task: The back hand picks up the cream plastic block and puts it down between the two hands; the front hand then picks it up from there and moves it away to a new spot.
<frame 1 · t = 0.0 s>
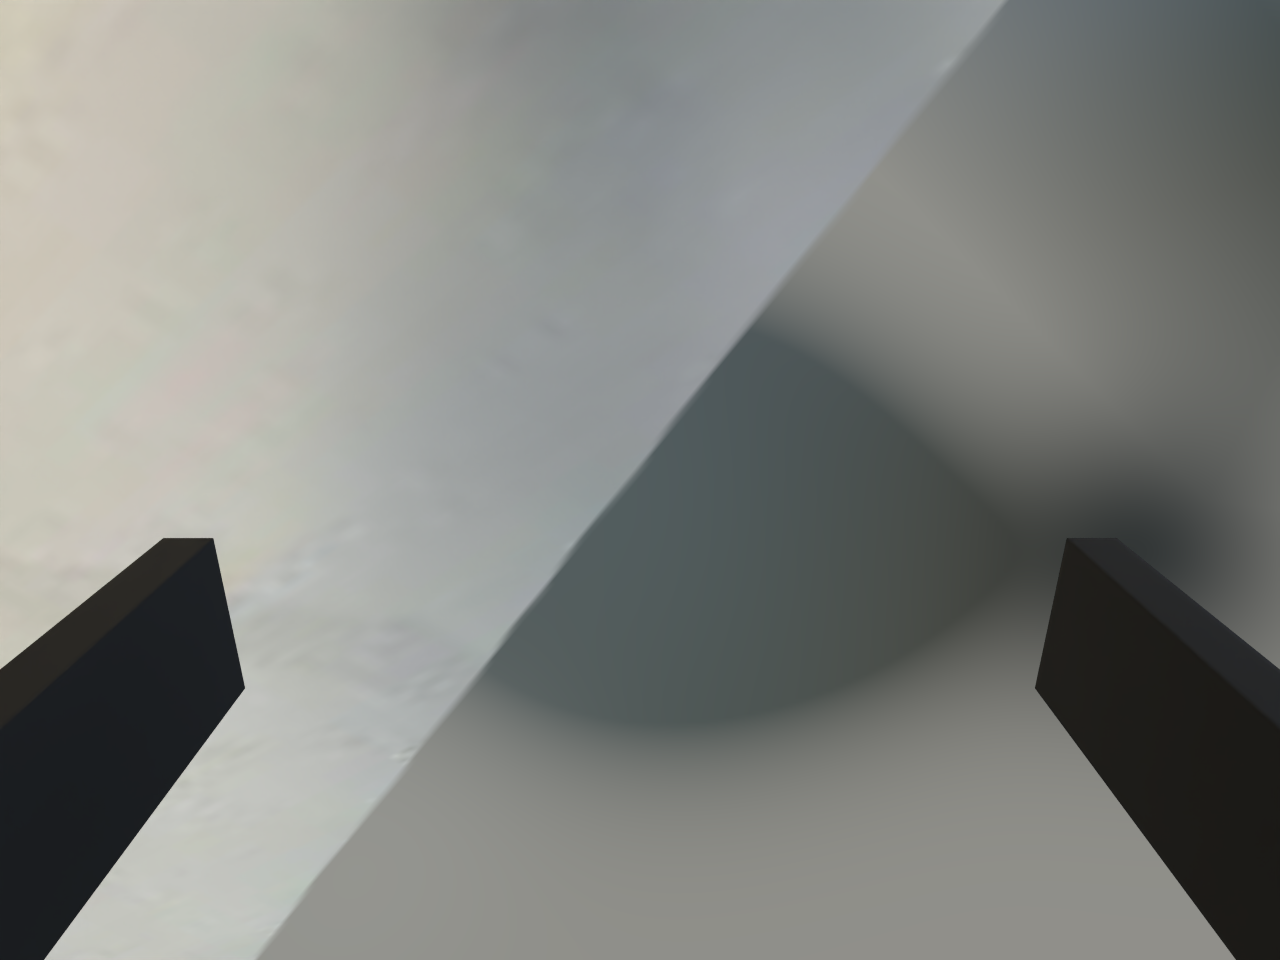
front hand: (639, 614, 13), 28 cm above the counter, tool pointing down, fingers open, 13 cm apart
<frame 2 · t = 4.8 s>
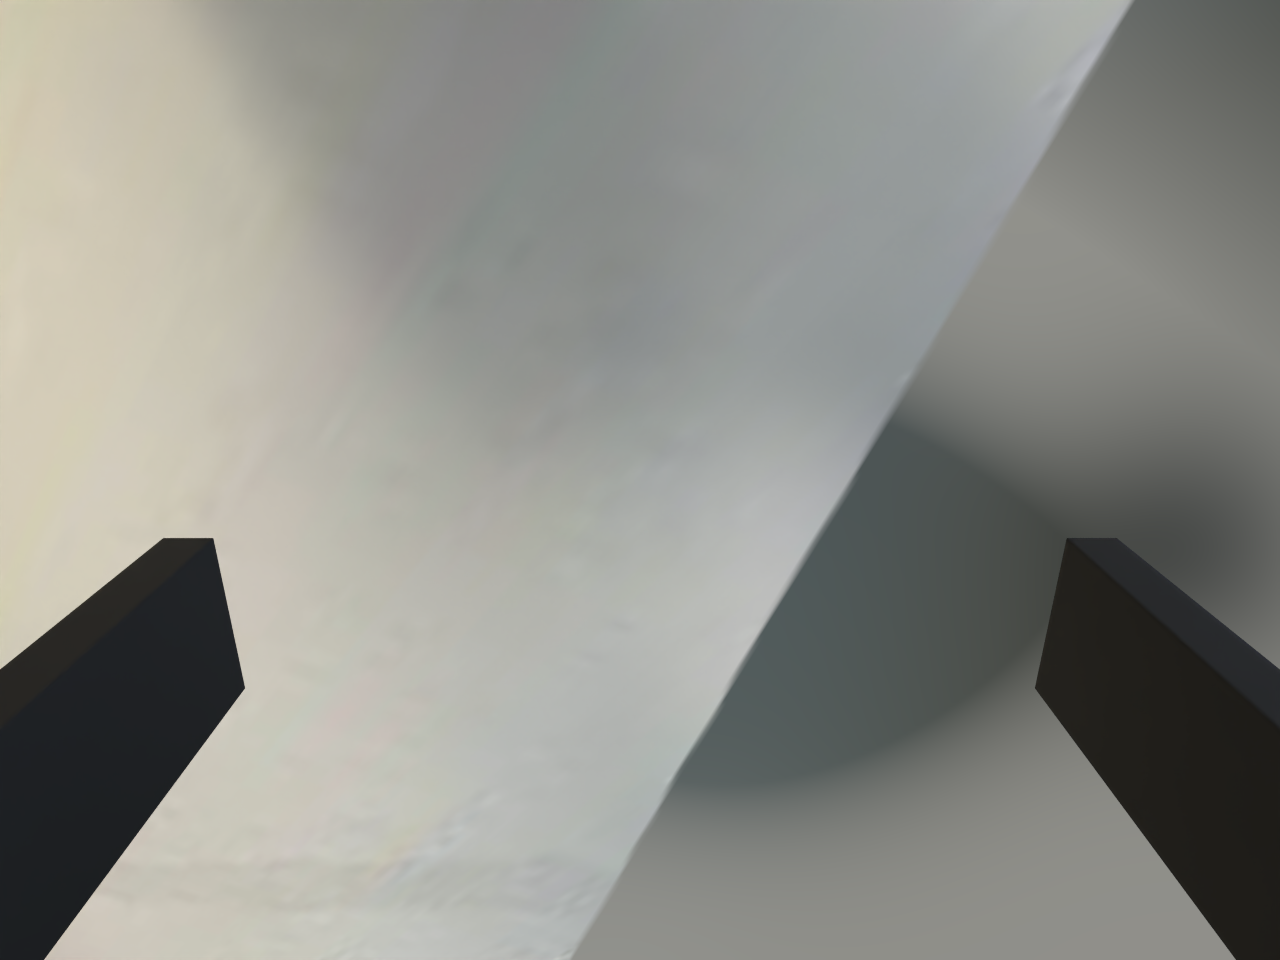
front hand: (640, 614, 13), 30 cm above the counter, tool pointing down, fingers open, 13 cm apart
when the back hand's fingers open (3 cm above the counter, at t = 13.8 s): block drops 1 cm, on the counter.
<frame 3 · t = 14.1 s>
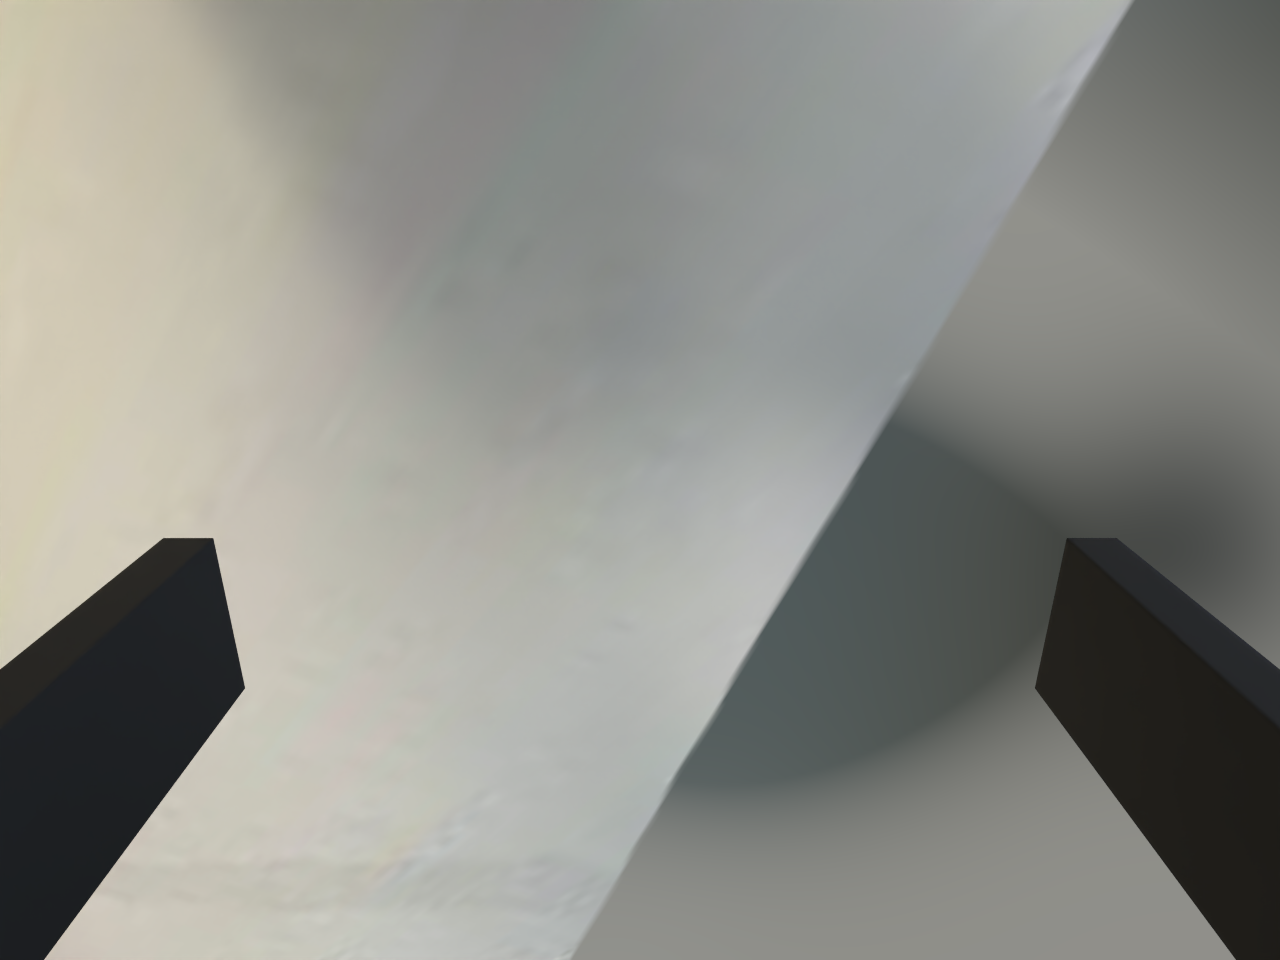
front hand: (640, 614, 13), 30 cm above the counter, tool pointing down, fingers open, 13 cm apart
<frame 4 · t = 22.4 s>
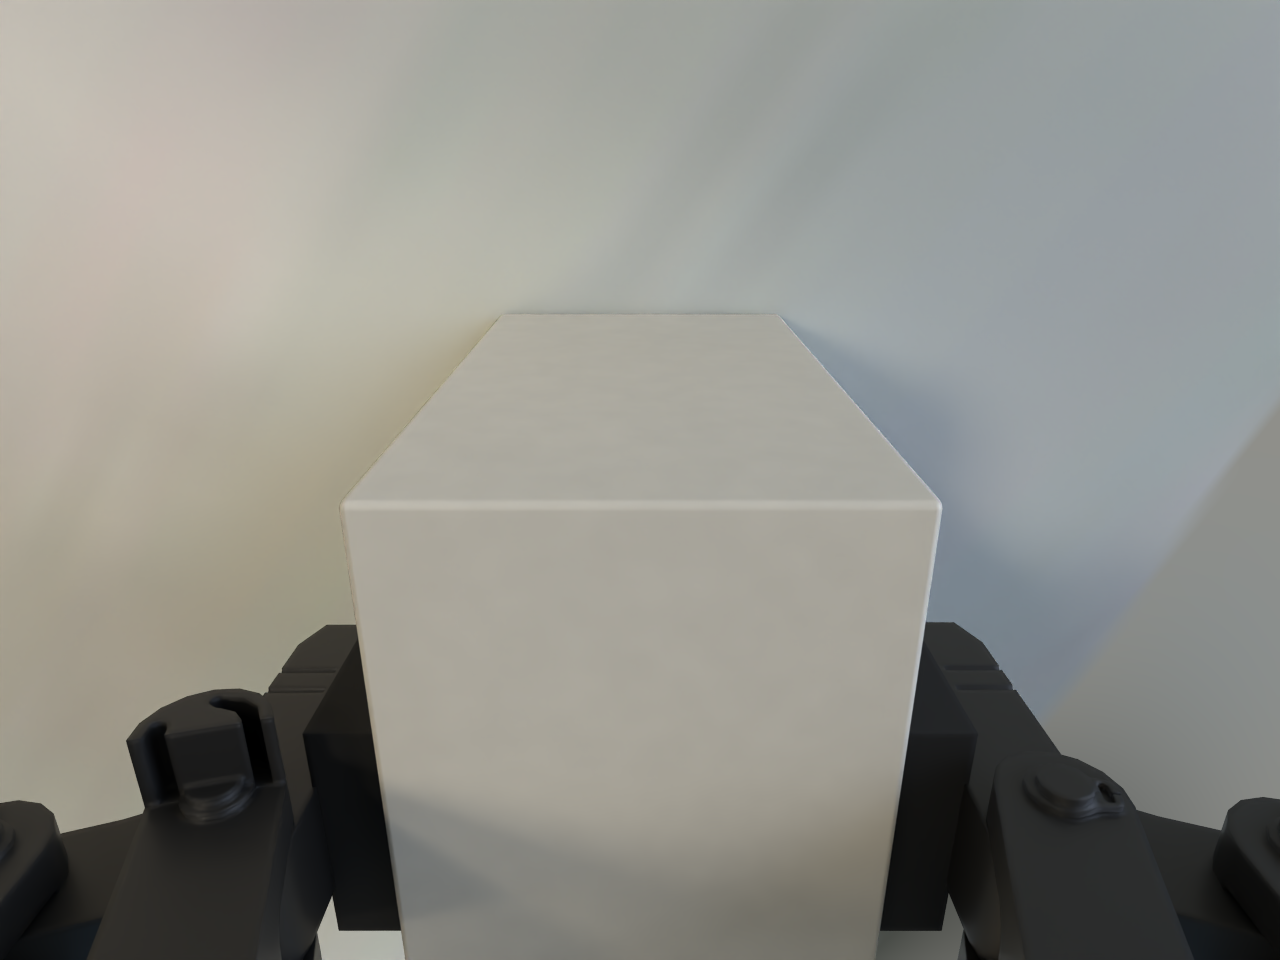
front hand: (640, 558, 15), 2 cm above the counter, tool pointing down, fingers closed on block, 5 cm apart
block: (639, 502, 17), on the counter, touching front hand
when the front hand's fingers open (3 cm above the counter, at t = 34.0 s): block drops 1 cm, on the counter.
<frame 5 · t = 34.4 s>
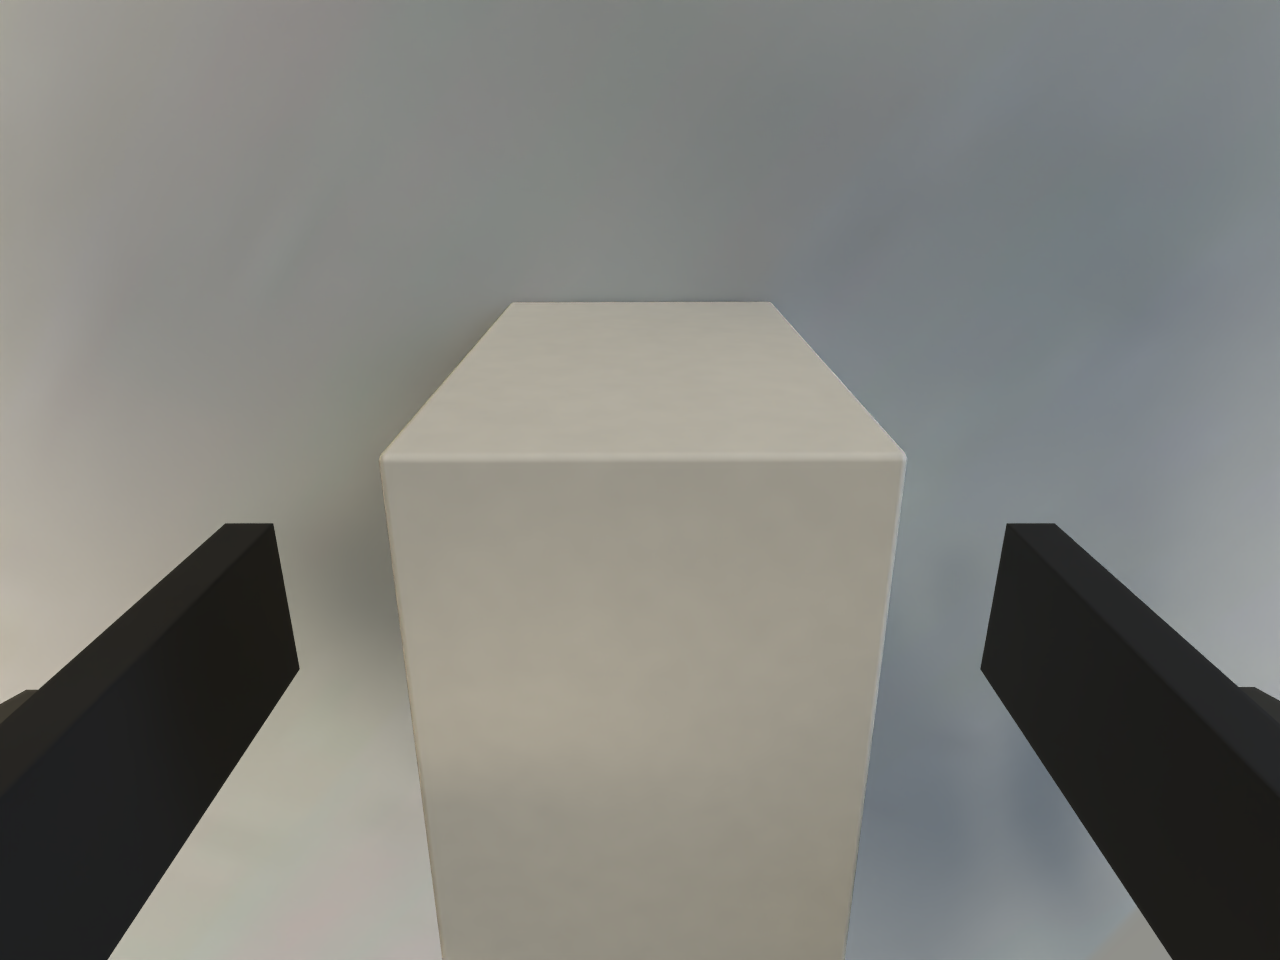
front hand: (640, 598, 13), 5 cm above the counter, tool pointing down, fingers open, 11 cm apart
block: (641, 480, 18), on the counter
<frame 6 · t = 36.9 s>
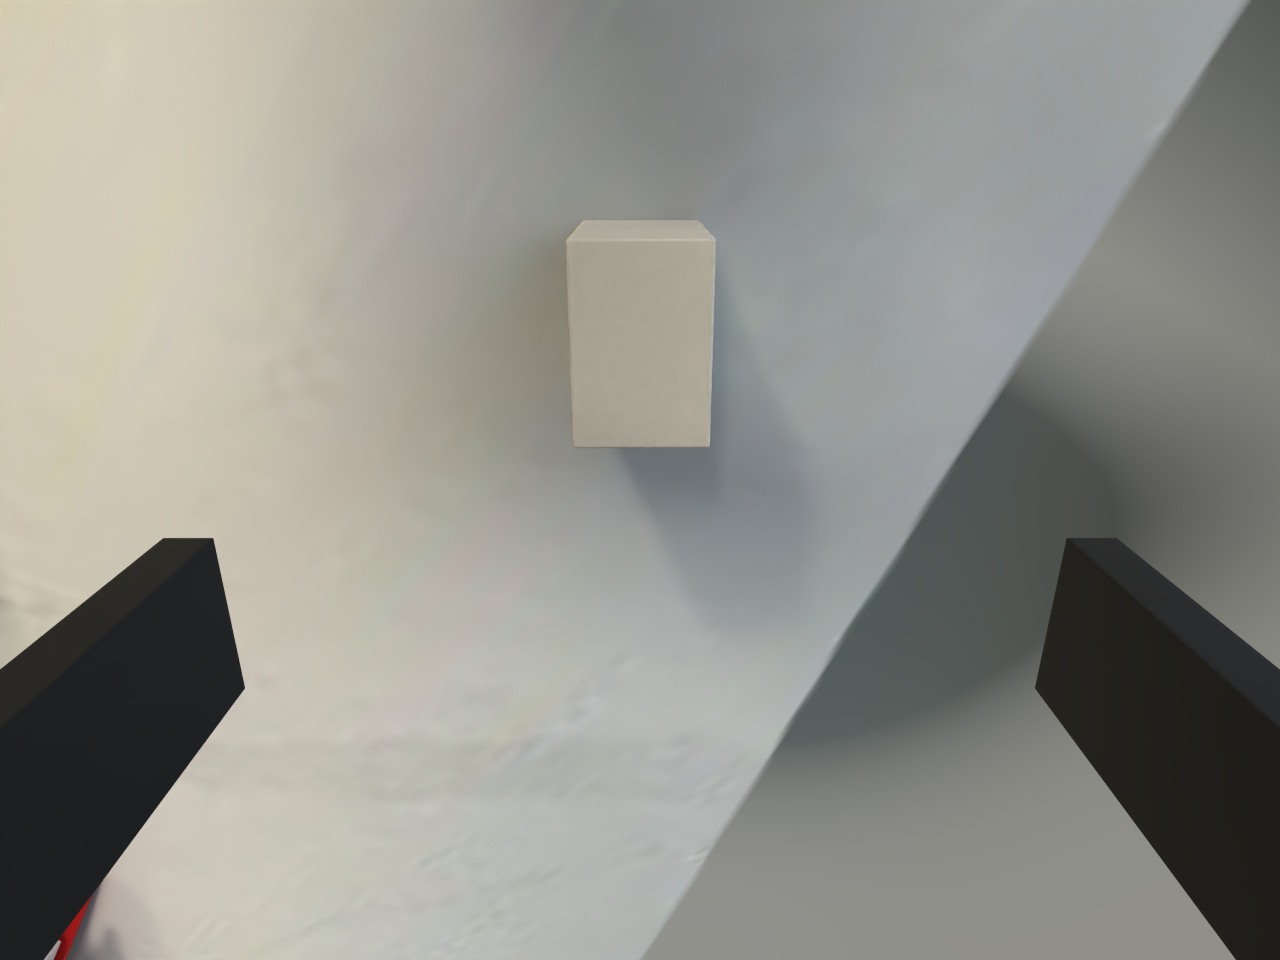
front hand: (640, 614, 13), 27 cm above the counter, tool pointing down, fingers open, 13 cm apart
block: (640, 306, 38), on the counter
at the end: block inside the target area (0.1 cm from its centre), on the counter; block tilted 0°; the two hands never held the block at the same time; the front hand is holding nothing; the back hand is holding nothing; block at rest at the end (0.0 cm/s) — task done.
